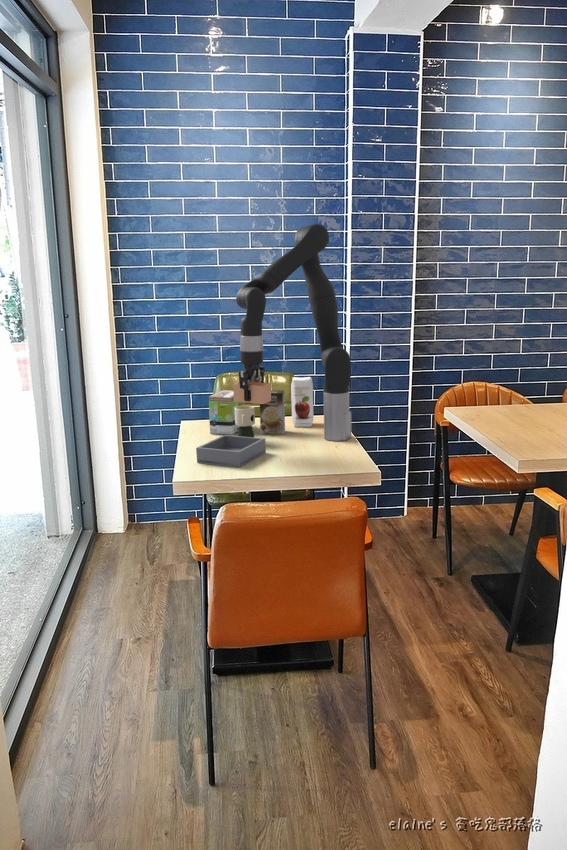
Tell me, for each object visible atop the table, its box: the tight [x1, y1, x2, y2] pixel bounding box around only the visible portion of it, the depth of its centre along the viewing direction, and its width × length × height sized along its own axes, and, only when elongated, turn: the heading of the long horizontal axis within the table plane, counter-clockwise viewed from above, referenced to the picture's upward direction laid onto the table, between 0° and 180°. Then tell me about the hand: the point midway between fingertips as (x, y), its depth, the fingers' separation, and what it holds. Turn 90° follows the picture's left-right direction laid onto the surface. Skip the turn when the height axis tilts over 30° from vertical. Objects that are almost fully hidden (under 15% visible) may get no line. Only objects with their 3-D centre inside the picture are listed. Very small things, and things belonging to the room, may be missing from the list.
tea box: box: [208, 389, 246, 435], centre depth 254 cm, size 15×10×15 cm, turn 165°
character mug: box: [235, 405, 256, 438], centre depth 235 cm, size 11×7×13 cm, turn 179°
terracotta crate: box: [232, 381, 272, 405], centre depth 218 cm, size 11×6×6 cm, turn 64°
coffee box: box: [259, 389, 286, 436], centre depth 247 cm, size 9×6×16 cm
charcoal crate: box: [195, 434, 267, 468], centre depth 217 cm, size 16×18×5 cm
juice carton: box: [290, 376, 314, 428], centre depth 257 cm, size 8×9×19 cm
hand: (252, 399), depth 219 cm, fingers closed on terracotta crate, 6 cm apart
